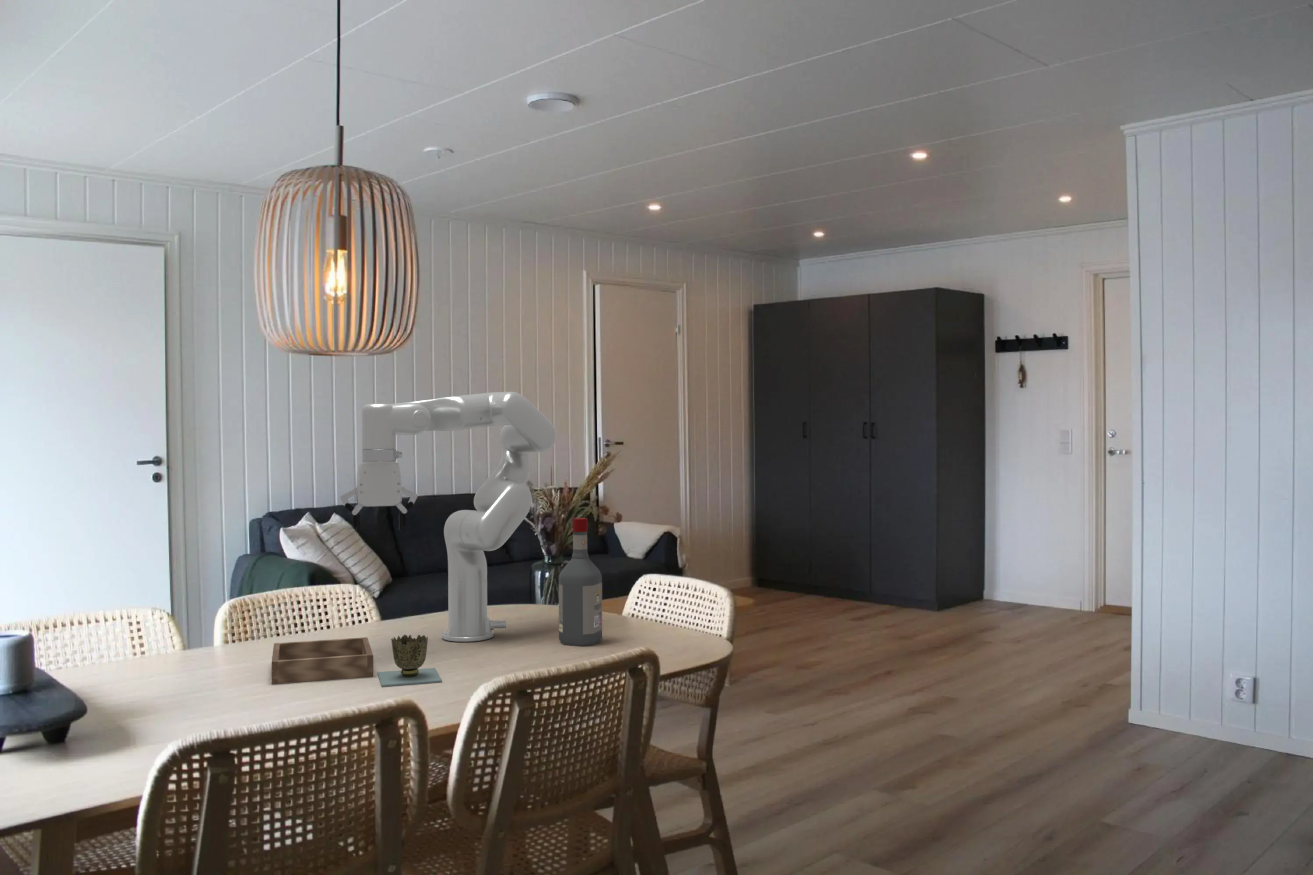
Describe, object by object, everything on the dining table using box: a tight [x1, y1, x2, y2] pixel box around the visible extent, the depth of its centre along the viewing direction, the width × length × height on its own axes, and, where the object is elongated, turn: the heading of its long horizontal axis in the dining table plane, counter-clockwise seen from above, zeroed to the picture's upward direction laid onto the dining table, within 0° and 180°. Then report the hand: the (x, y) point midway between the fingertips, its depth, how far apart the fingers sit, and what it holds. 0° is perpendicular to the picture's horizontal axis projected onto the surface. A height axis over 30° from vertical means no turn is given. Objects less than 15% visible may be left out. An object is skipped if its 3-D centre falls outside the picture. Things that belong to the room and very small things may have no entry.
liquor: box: [558, 517, 603, 647], centre depth 256 cm, size 9×9×30 cm
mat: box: [377, 667, 443, 688], centre depth 220 cm, size 12×12×1 cm
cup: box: [391, 634, 429, 677], centre depth 220 cm, size 8×7×8 cm
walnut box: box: [271, 637, 374, 685], centre depth 227 cm, size 20×20×4 cm
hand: (379, 531), depth 244 cm, fingers open, 9 cm apart
